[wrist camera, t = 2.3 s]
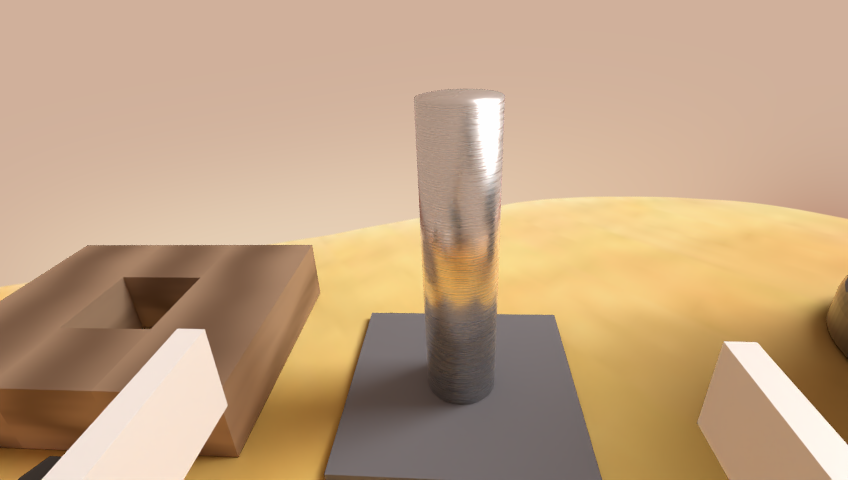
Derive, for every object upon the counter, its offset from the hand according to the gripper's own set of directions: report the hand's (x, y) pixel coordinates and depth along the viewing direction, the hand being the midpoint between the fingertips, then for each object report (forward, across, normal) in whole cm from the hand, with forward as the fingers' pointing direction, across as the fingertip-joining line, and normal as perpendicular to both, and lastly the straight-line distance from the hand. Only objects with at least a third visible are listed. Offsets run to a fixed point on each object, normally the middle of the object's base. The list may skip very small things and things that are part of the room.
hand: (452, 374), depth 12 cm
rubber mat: (+10, 0, -10) cm, 14 cm away
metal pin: (+10, 0, -10) cm, 14 cm away
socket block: (+12, -19, -10) cm, 24 cm away
